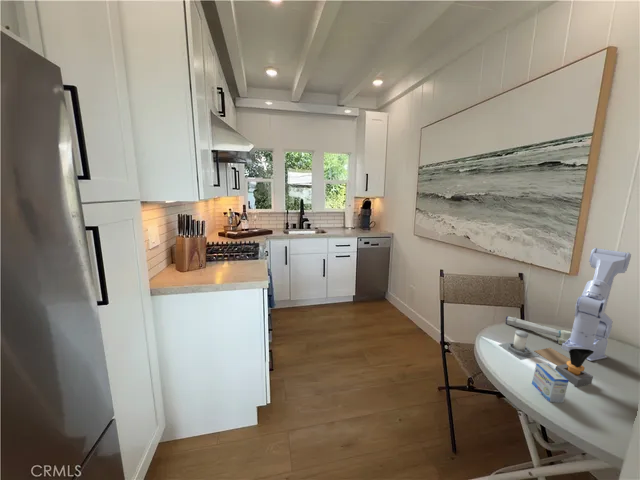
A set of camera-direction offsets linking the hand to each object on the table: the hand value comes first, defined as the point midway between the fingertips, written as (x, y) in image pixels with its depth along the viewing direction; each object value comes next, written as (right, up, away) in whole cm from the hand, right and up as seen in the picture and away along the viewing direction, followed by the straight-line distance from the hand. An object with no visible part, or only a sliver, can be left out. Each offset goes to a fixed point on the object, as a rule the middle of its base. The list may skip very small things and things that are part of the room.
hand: (575, 365), depth 93 cm
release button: (0, -3, +1) cm, 4 cm away
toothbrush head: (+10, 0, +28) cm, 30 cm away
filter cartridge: (-8, -1, +16) cm, 18 cm away
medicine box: (-15, -7, -5) cm, 17 cm away
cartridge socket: (-8, -2, +16) cm, 18 cm away
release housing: (0, -5, +1) cm, 5 cm away
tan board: (+3, -3, +12) cm, 13 cm away
